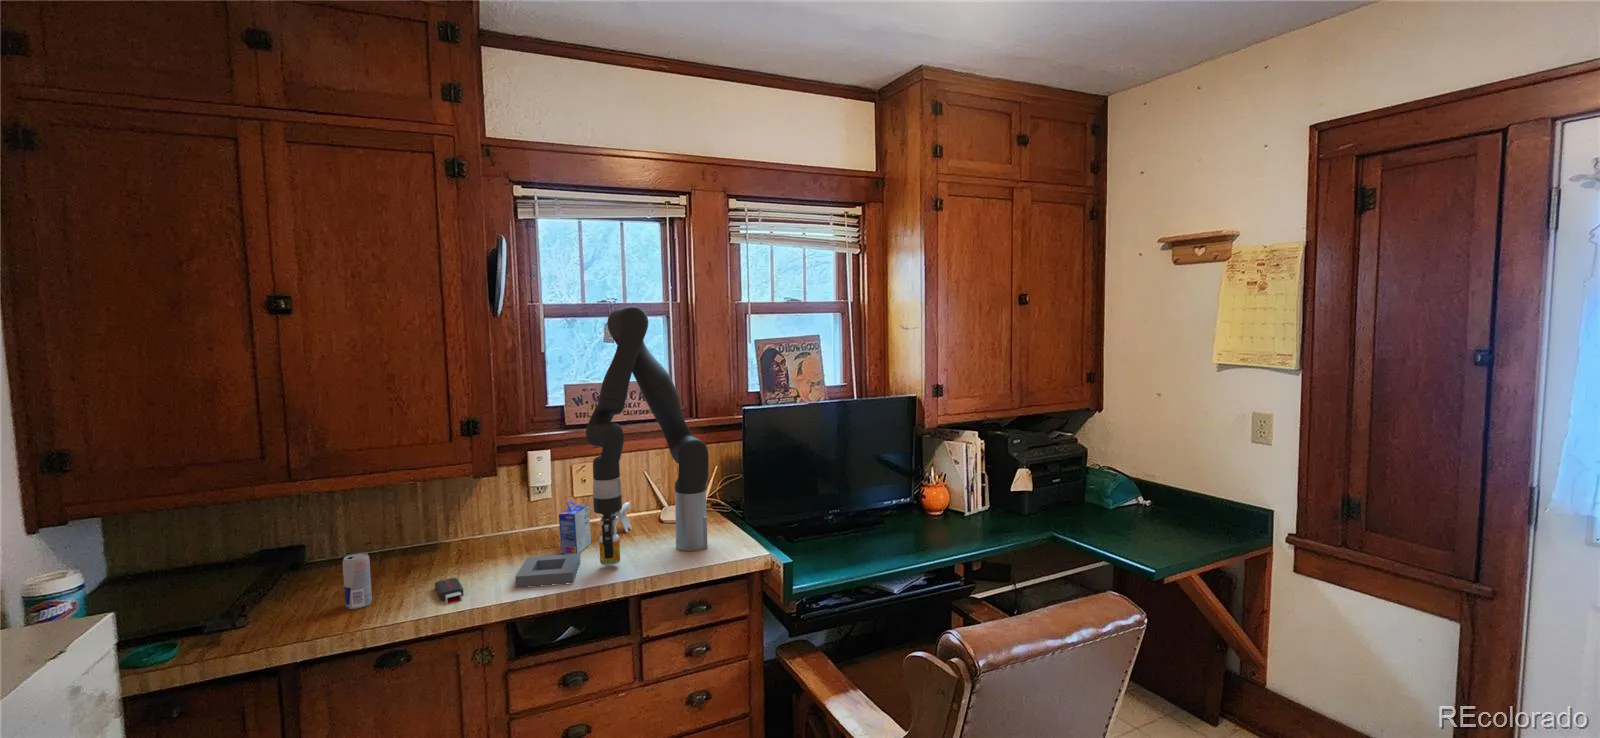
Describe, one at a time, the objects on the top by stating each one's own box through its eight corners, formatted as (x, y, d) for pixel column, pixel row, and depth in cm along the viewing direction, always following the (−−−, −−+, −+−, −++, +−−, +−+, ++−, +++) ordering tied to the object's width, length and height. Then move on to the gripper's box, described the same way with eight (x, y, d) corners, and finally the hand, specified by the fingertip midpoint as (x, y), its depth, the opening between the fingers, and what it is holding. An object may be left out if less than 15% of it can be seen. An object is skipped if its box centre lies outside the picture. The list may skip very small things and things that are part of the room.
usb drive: (457, 585, 172) (456, 575, 172) (466, 601, 163) (465, 590, 162) (434, 590, 169) (434, 579, 169) (442, 606, 160) (441, 595, 159)
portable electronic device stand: (611, 526, 219) (610, 501, 218) (634, 527, 218) (633, 502, 218) (600, 534, 211) (600, 509, 210) (624, 535, 210) (624, 509, 209)
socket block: (580, 563, 185) (580, 553, 185) (573, 583, 172) (572, 572, 172) (527, 567, 183) (527, 557, 183) (515, 588, 169) (515, 576, 169)
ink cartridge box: (574, 543, 203) (572, 496, 202) (591, 543, 202) (590, 497, 201) (559, 554, 193) (557, 505, 192) (577, 555, 192) (576, 506, 191)
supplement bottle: (602, 567, 179) (600, 532, 178) (598, 561, 184) (596, 527, 183) (622, 563, 182) (621, 529, 181) (617, 557, 186) (616, 523, 186)
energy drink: (353, 600, 162) (350, 553, 161) (376, 599, 163) (373, 552, 162) (340, 610, 157) (337, 561, 156) (364, 609, 157) (361, 560, 156)
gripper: (619, 499, 175) (622, 562, 176) (623, 486, 189) (625, 543, 190) (590, 502, 173) (593, 564, 175) (595, 488, 187) (598, 546, 189)
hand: (610, 553), depth 183 cm, fingers closed on supplement bottle, 5 cm apart
